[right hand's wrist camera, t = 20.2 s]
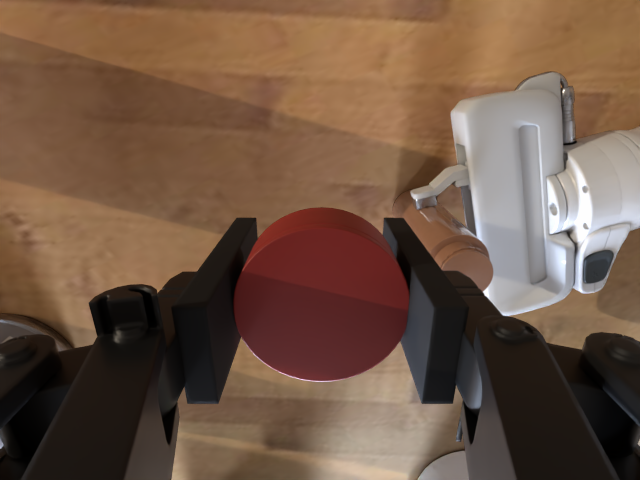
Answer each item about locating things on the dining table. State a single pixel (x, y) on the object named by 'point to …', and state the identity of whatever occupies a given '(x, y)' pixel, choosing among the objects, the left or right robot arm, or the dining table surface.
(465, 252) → the jar
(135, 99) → the dining table surface
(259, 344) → the lid
